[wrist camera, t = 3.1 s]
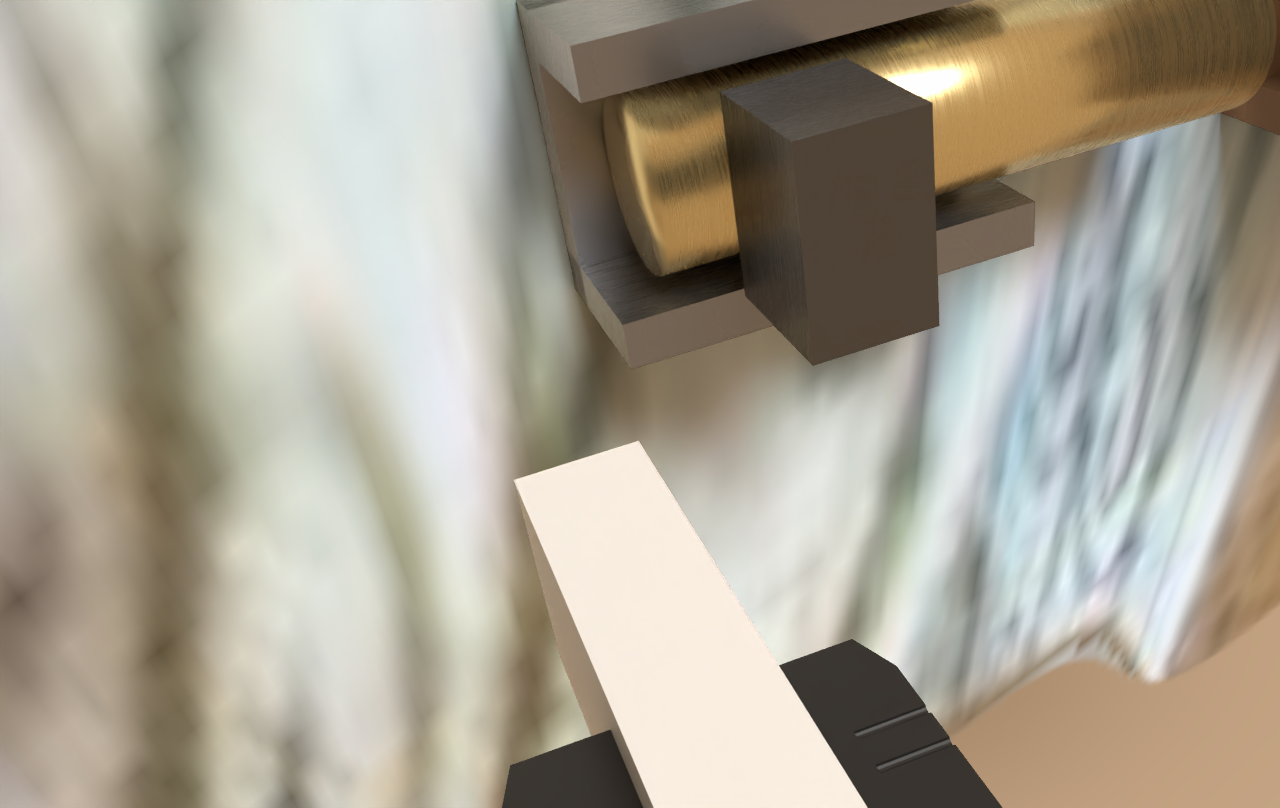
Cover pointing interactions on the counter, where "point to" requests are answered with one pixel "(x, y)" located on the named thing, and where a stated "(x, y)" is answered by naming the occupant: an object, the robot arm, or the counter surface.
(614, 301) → the open channel
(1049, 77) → the brass bolt
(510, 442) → the counter surface
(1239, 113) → the socket
